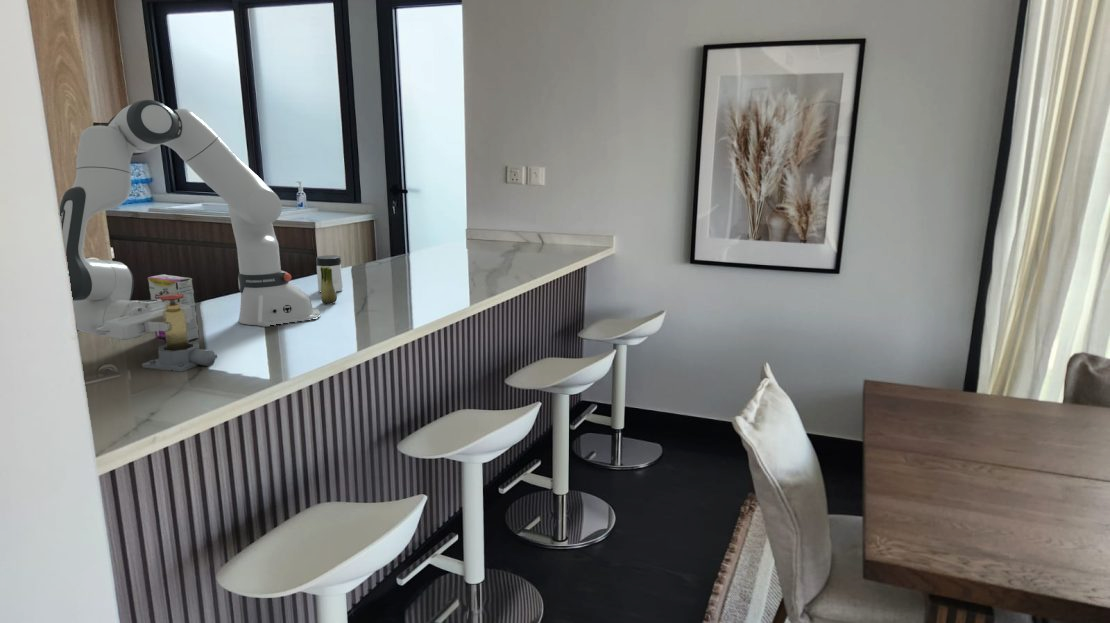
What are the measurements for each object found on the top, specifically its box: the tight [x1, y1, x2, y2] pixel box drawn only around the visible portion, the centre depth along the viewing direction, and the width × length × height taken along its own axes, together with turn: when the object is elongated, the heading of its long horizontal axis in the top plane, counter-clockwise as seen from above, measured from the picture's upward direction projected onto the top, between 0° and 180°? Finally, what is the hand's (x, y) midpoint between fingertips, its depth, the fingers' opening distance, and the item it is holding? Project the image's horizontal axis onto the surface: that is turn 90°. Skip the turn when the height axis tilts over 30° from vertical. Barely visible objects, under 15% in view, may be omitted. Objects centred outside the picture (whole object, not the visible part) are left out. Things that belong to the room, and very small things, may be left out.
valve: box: [160, 293, 189, 351], centre depth 159 cm, size 5×5×14 cm
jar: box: [315, 254, 343, 292], centre depth 240 cm, size 9×8×12 cm
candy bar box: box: [147, 274, 200, 342], centre depth 180 cm, size 11×5×16 cm, turn 66°
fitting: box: [141, 341, 218, 373], centre depth 160 cm, size 14×11×4 cm
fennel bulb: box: [320, 267, 338, 304], centre depth 221 cm, size 6×5×12 cm
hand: (178, 323), depth 159 cm, fingers closed on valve, 4 cm apart
